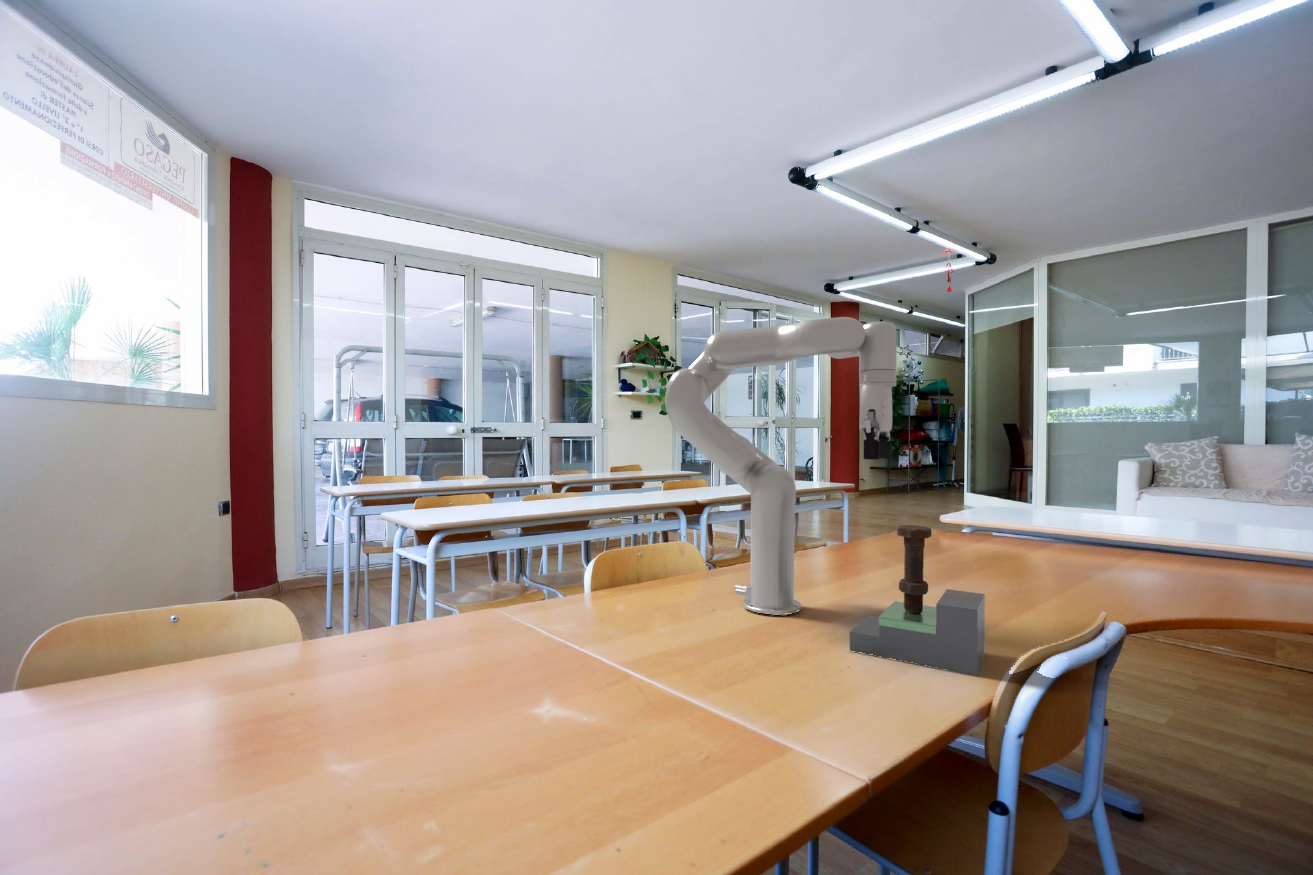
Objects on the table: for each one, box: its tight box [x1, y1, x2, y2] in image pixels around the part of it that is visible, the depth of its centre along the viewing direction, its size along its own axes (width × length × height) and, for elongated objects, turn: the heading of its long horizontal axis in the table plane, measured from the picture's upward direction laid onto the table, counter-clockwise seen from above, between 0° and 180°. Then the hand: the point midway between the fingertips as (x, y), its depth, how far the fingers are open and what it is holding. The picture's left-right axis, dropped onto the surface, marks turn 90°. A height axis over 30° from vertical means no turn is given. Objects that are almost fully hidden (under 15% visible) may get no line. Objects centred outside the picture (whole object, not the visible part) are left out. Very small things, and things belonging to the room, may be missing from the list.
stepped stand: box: [849, 588, 986, 677], centre depth 106 cm, size 20×12×10 cm, turn 57°
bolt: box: [896, 524, 932, 614], centre depth 107 cm, size 6×5×15 cm
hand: (877, 458), depth 132 cm, fingers open, 9 cm apart
